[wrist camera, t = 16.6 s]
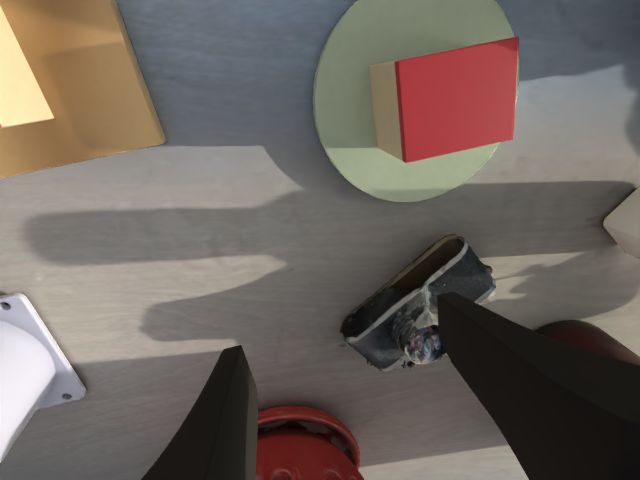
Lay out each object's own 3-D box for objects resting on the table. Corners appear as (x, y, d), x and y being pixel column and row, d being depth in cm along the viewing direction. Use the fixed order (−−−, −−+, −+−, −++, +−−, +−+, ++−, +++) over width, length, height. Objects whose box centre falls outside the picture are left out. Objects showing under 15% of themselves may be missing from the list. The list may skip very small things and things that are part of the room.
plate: (331, 217, 21) (334, 221, 20) (291, -4, 16) (293, -8, 16) (505, 176, 22) (514, 179, 21) (515, -45, 17) (527, -51, 16)
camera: (492, 275, 24) (535, 310, 21) (376, 362, 26) (396, 410, 22) (456, 225, 22) (497, 255, 19) (332, 324, 24) (347, 370, 20)
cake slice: (377, 148, 19) (405, 163, 15) (367, 65, 17) (397, 61, 14) (465, 128, 19) (514, 139, 16) (465, 45, 18) (519, 36, 14)
